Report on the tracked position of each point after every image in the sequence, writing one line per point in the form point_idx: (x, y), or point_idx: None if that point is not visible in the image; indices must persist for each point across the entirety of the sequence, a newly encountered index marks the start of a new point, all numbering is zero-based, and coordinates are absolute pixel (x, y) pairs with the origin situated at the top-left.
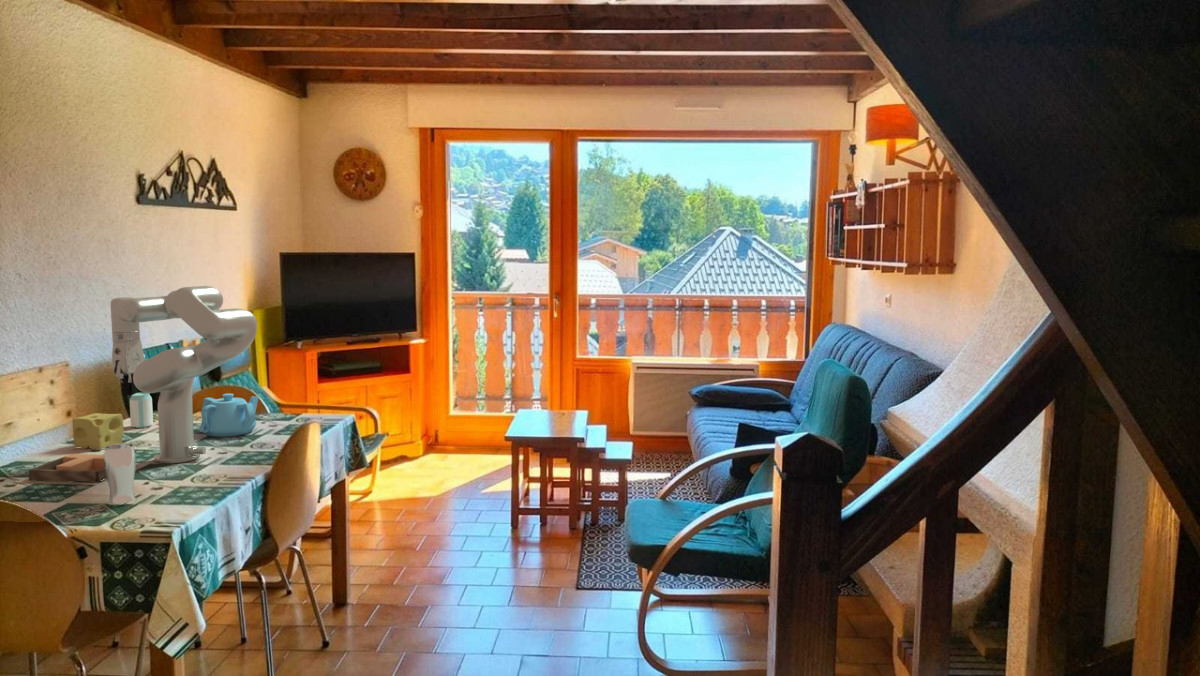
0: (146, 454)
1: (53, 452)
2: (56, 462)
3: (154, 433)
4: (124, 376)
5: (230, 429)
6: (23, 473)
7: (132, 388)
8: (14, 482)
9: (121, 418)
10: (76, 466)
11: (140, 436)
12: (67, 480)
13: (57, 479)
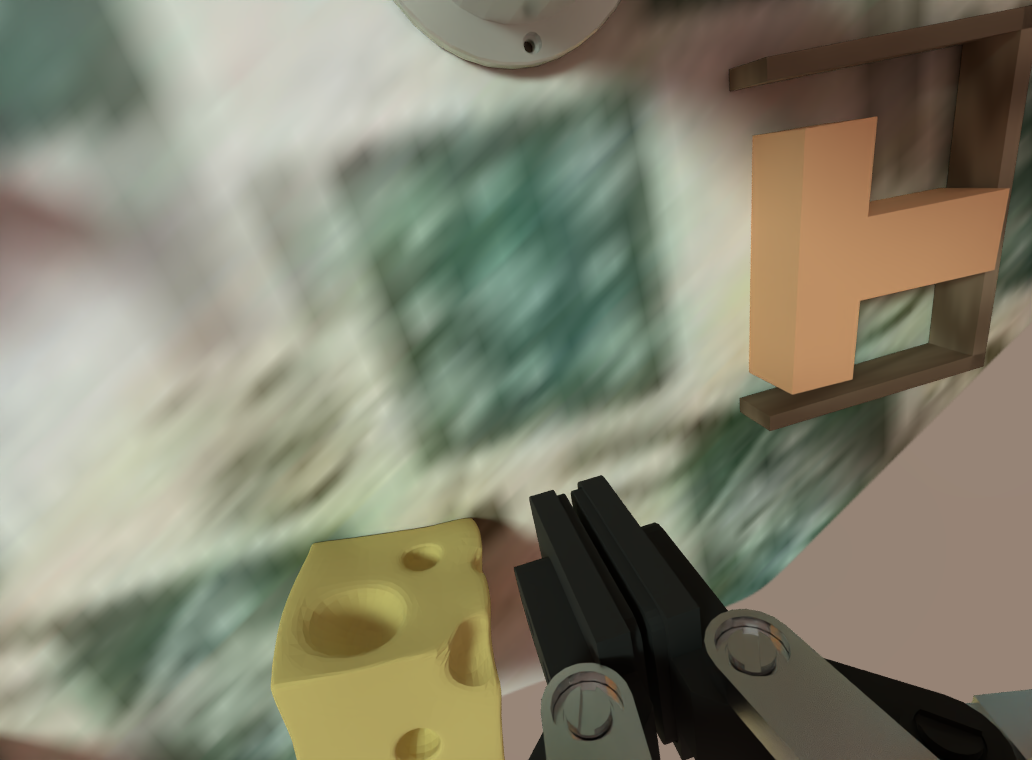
0: (470, 216)
1: None
2: (845, 389)
3: (24, 583)
4: (1005, 745)
5: None
6: (849, 460)
7: (639, 530)
8: (956, 381)
9: (286, 655)
10: (970, 193)
11: (136, 587)
12: None
13: None
